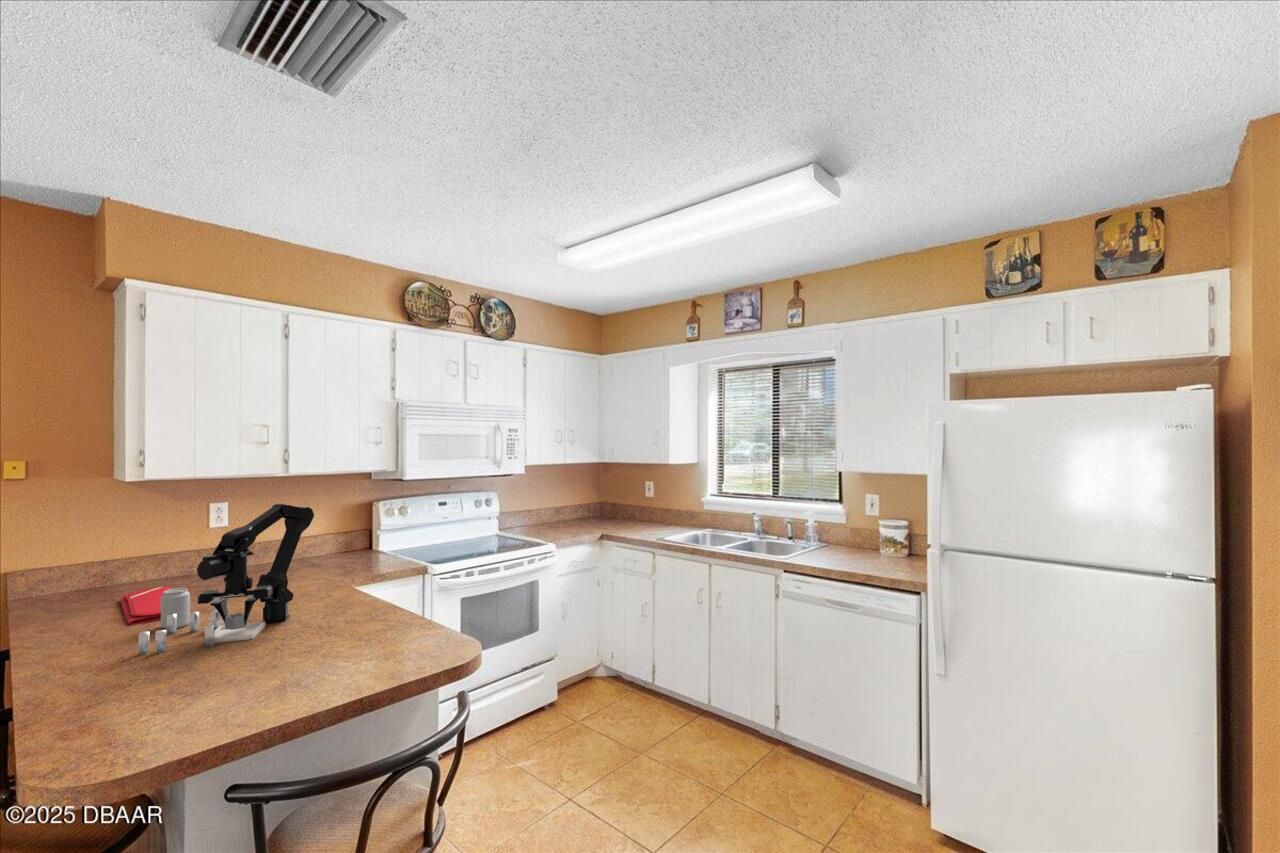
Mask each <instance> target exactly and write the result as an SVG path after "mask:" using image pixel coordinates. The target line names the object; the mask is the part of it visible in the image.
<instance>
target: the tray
mask: <svg viewBox="0 0 1280 853" xmlns="http://www.w3.org/2000/svg"><path fill="white" fill-rule="evenodd" d="M265 627H266V623H265V622H263V621H259V622H247V625H246V626H245V627H243V628H239V629H234V630H229V629H225V625H221V626H219V627H218V628H217V629H216V630H215V644H219V643H228V642H237V641H248V640H253V639H254V638H256V637H257V636H258V635H259V633H261V631H263V630H264V628H265ZM203 641H204V642H203V643H204V645H205V638H204V639H203Z"/></svg>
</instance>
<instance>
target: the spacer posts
mask: <svg viewBox="0 0 1280 853" xmlns="http://www.w3.org/2000/svg"><path fill="white" fill-rule="evenodd" d="M219 626H222V617H221V615H220V614H219V612H218V611H217V609H213V610H211V624H208V625H206V626H204V639H205V644H204V648H205V649H209V648H213V647H215V646H216V643H215V630H216V629H217V628H218V627H219ZM199 631H200V611H196V610H195V611H192V612H191V611H190V622H189V633H197V632H199ZM177 632H178V628H177V614H176V613H173V614H168V615H167V629H164V628H162V629H159V630H156V631H155V654H162V653H165V652H167V635H168V636H170V635H175V634H177ZM150 634H151V633H150V630H145V631H141V632H138V656H144V655H147V654H150V652H151V651H150V650H151V648H150V647H151V646H150V645H151V643H150V641H151V640H150Z"/></svg>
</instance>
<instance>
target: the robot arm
mask: <svg viewBox="0 0 1280 853" xmlns="http://www.w3.org/2000/svg"><path fill="white" fill-rule="evenodd" d="M314 517H315V513H314V509H312V508H311V507H310V506H294V505H289V504H288V503H276V504H273V505H272V506H271V508H269V509H267V510H266V511H265V512H263V513H262V514H260V515H259V516H258V517H256V518H254V519H252V520H251V521H250V522H248V523H247V524H246V525H243V526H240V527H237V528H234V529H231V530H230V531H229V530H228V531H227V532H225V533H224V534H222V536H221V540H220V541H219V543H218V545H217V546H216V548H215V549H214V550H213V553H212V555H209V556H208V555H207V556H203V557H202V561H200V563H198V566H197V568H196V571H197V576H198V578H199V579H201V580H202V581H208V580H212V579H215V578H219V577H222V576H224V577H223V582H224V590H223V592H220V589H210V590H205V591H203V592H201V593H200V594H198V596H197V604H198V605H203V604H209V606H213V607H214V609H215V610H217V611H218V612H219V614H220V615H221V620H222V621H223V622H224V623H225V618H226V617H227V616H228V615H229V614H228V606H227V603H228V599H232V598H244V597H247V599H246V600H245V601H244V612H243V613H244V618H245V621H247V622H248V620H249V617H250V614H251V611H252V609H253V606H254V604H255V602H257V601H258V600H259V602H260V603H264V607H262V622H265V624H269V623H280V622H286V620H287V619H288V618H289V617H290V616H291V615H290V614H289V602H292V601H293V598H294V593H293V592H292V591H291V590H290V589H288V584H289V580H288V575H287V573H288V570H289V567H290V565H291V562H292V560H293V557H294V554H295V551H296V550H297V549H296V548H297V546H298V543H299V541H300V538H301V536H302V533H304V532H305V531H306V530H307V529H308V528H309V527H310V525H311V524H312V522H313V520H314ZM281 519H284V525H285V532H284V535H283V537H282V539H281V542H280V543H279V544H280V545H279V548H278V550H277V552H276V555H275V558H274V560H273V562H272V566H271V567H270V570H269V571H267V573H266V574H260V576H259V578H258V582H257V584H256V585H255V588H254V589H252V588H253V581H254V580H253V578H252V577H250V576H249V572H248V556H252V555H254V552H253V551H251V550H249V548H250V547H251V546H252V545H253V544H254V542H256V540H257V537H258V536H259V535H260V534H262V533H263V532H264V531H265V530H267V529H269V528H270V527H272V525H274V524H275V523H277V522H279V521H280V520H281Z"/></svg>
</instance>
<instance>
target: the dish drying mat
mask: <svg viewBox="0 0 1280 853" xmlns="http://www.w3.org/2000/svg"><path fill="white" fill-rule="evenodd" d="M170 589H173V588H172V586H159V587H153V588H152V587H151V588H145V589H140V590H136V591H132V592H131V591H130V593H129V592H128V593H127V594H124V595H122V596H121V598H120V603H121V604H120V605H121V607H122V608H121V609H122V611H123V614H124V618H125V621H126V622H127V625H129V626H134V625H140V624H146V623H150V622H155V621H161V596H162V595H163V594H164V593H163V592H164V591H167V590H170Z"/></svg>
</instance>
